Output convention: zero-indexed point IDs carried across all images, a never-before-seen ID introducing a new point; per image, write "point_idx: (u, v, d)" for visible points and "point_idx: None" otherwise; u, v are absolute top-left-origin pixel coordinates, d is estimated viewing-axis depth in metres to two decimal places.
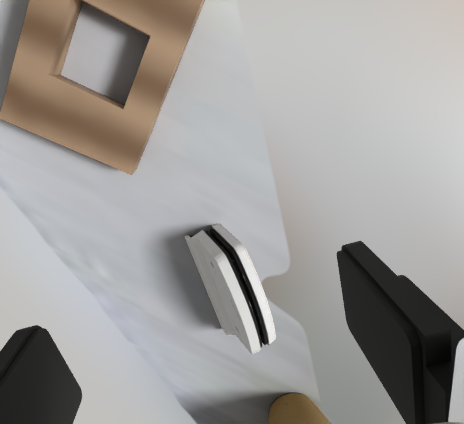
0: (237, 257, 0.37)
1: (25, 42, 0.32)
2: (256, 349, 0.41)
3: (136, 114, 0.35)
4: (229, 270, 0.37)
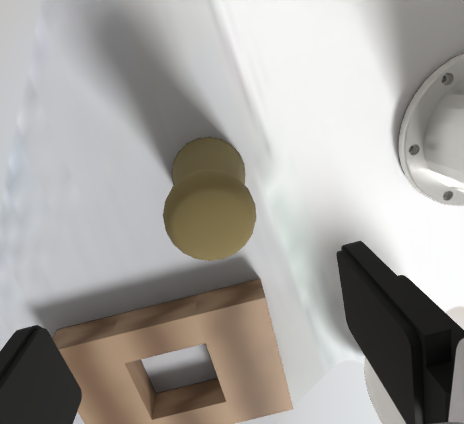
0: None
1: (133, 336, 0.29)
2: None
3: None
4: None
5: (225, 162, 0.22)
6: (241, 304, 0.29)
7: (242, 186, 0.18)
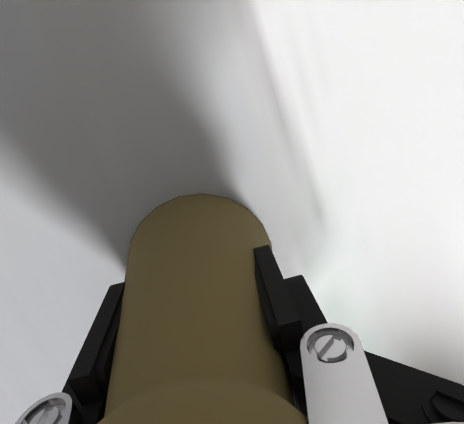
0: None
1: None
2: None
3: None
4: None
5: (242, 285, 0.09)
6: None
7: None
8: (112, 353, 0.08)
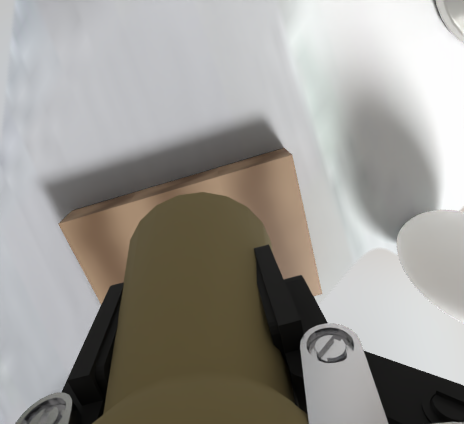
0: None
1: (152, 203, 0.27)
2: None
3: None
4: None
5: (241, 283, 0.09)
6: (266, 162, 0.27)
7: None
8: (112, 353, 0.08)
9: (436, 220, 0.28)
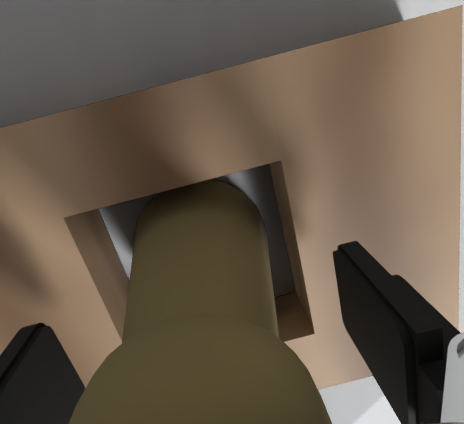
0: None
1: (83, 126, 0.10)
2: None
3: None
4: None
5: (237, 252, 0.10)
6: (393, 24, 0.10)
7: (302, 391, 0.06)
8: None
9: None
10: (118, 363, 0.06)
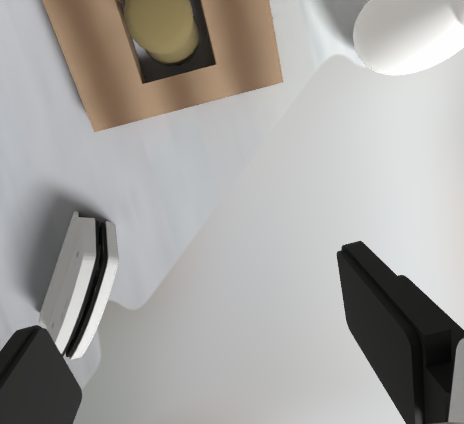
0: (104, 267, 0.35)
1: None
2: None
3: (147, 98, 0.33)
4: (87, 273, 0.34)
5: None
6: None
7: None
8: None
9: None
10: None
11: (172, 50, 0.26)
